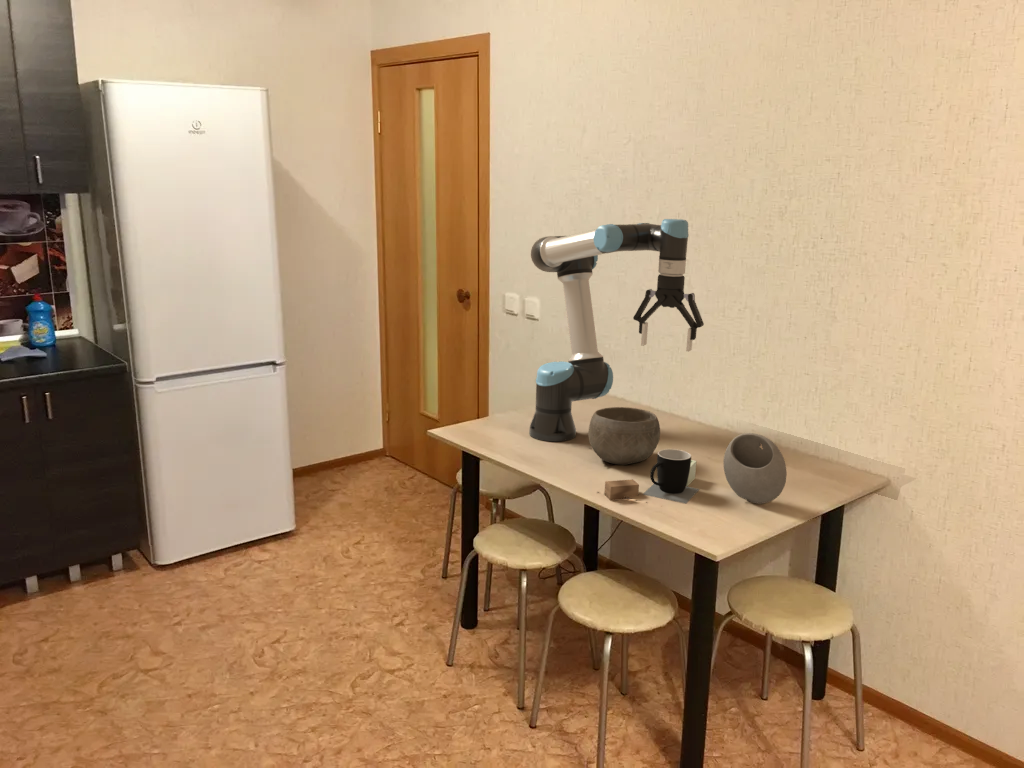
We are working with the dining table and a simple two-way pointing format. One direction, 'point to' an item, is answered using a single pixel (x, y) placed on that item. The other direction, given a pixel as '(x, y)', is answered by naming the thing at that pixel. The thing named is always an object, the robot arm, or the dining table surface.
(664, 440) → the dining table surface
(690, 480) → the tub
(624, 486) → the walnut block
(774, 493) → the planter
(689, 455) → the mug
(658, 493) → the coaster mat
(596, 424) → the bowl
